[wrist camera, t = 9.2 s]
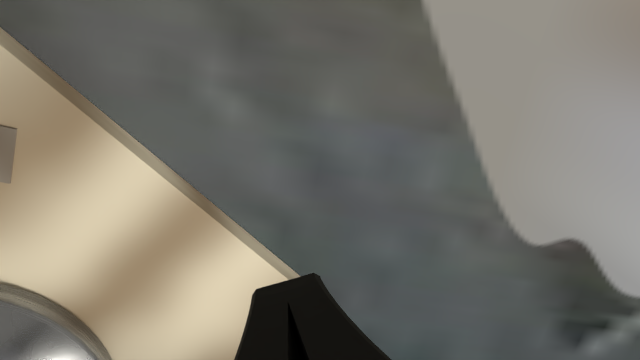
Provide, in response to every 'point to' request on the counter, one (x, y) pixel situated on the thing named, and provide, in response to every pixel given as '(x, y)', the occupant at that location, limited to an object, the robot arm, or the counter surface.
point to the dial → (43, 330)
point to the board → (116, 227)
